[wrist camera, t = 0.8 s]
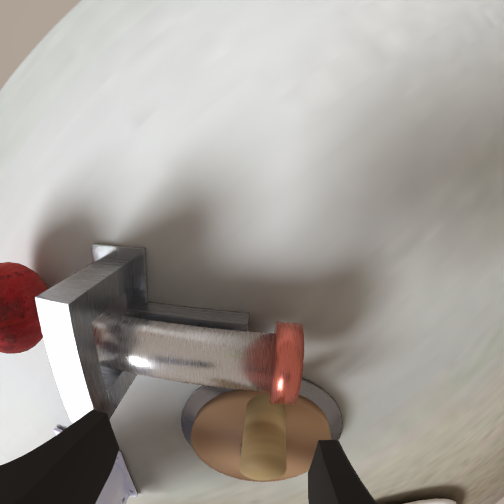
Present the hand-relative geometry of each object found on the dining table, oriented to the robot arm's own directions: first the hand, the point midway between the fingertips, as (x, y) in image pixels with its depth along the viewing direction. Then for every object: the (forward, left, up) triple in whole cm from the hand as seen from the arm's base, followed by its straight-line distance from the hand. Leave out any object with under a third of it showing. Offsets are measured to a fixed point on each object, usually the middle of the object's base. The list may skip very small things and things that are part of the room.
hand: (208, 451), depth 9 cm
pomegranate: (0, +14, -10) cm, 17 cm away
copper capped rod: (0, +3, -9) cm, 9 cm away
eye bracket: (0, +4, -10) cm, 11 cm away
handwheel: (-9, -2, -10) cm, 14 cm away
